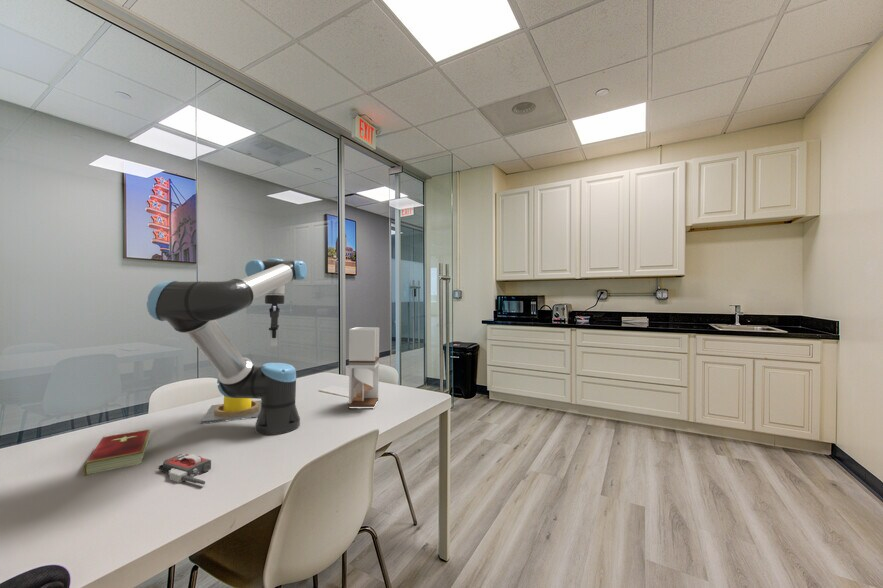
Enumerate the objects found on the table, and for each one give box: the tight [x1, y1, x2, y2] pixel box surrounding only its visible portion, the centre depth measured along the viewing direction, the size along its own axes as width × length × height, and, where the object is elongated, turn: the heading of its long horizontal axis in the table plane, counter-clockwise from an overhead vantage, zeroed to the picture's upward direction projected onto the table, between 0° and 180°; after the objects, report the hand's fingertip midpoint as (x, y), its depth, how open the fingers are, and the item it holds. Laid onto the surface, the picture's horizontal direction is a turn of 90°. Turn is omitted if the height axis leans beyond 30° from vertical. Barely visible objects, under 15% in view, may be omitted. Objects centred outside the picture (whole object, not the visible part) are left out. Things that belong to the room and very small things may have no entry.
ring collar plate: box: [200, 399, 261, 425], centre depth 146 cm, size 22×22×2 cm
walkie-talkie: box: [157, 453, 212, 485], centre depth 95 cm, size 9×4×20 cm
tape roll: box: [223, 395, 252, 411], centre depth 147 cm, size 10×10×9 cm
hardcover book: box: [83, 428, 151, 476], centre depth 105 cm, size 12×21×4 cm, turn 35°
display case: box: [347, 327, 380, 408], centre depth 158 cm, size 11×11×35 cm
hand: (273, 344), depth 149 cm, fingers open, 13 cm apart
